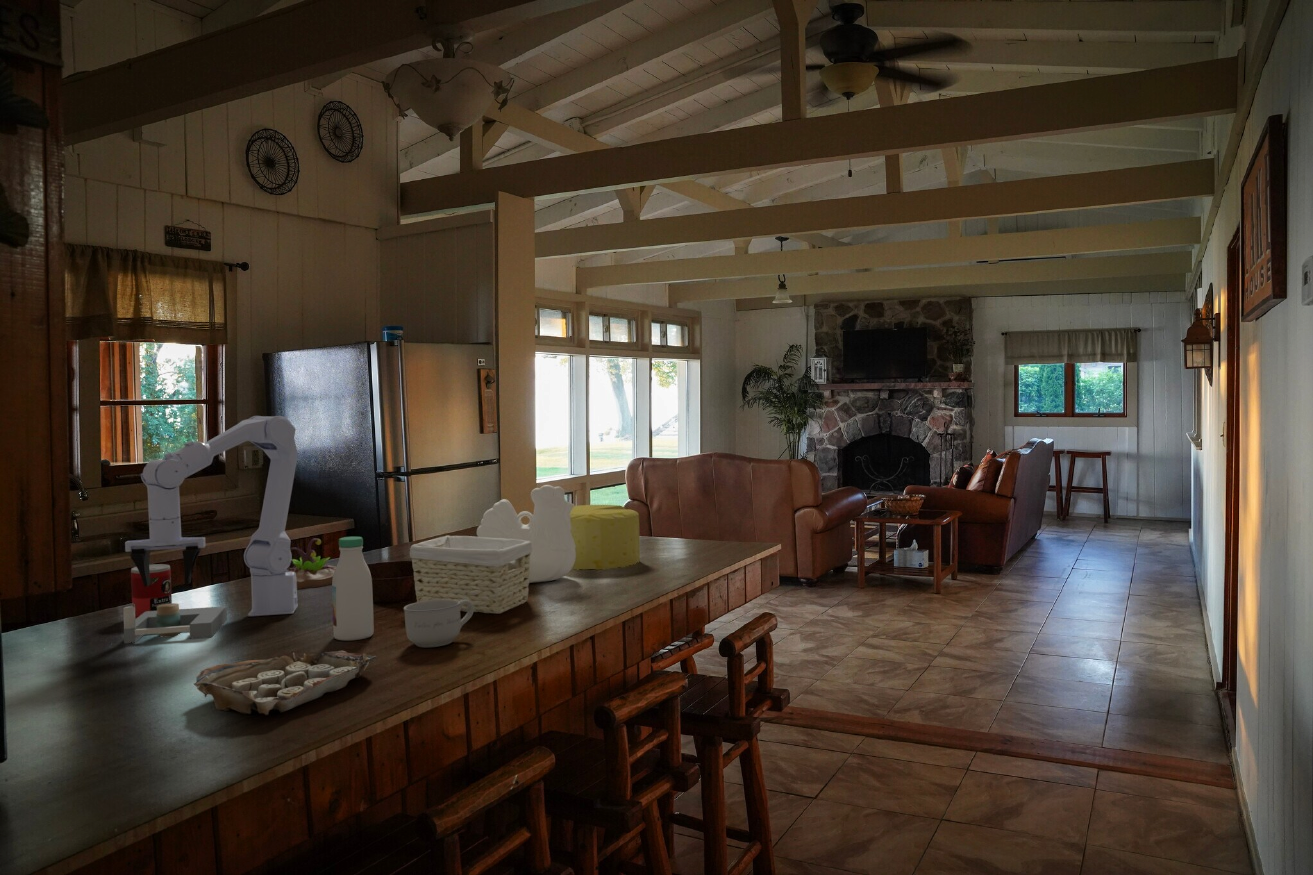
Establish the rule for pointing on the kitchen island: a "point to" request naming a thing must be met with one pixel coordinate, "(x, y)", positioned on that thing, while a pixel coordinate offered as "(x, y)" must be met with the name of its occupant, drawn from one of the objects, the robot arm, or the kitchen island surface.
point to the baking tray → (279, 680)
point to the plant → (311, 568)
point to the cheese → (605, 536)
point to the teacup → (435, 621)
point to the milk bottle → (352, 593)
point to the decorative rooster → (537, 531)
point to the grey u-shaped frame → (192, 620)
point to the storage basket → (473, 571)
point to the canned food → (151, 589)
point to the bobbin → (168, 617)
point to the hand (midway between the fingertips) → (167, 584)
